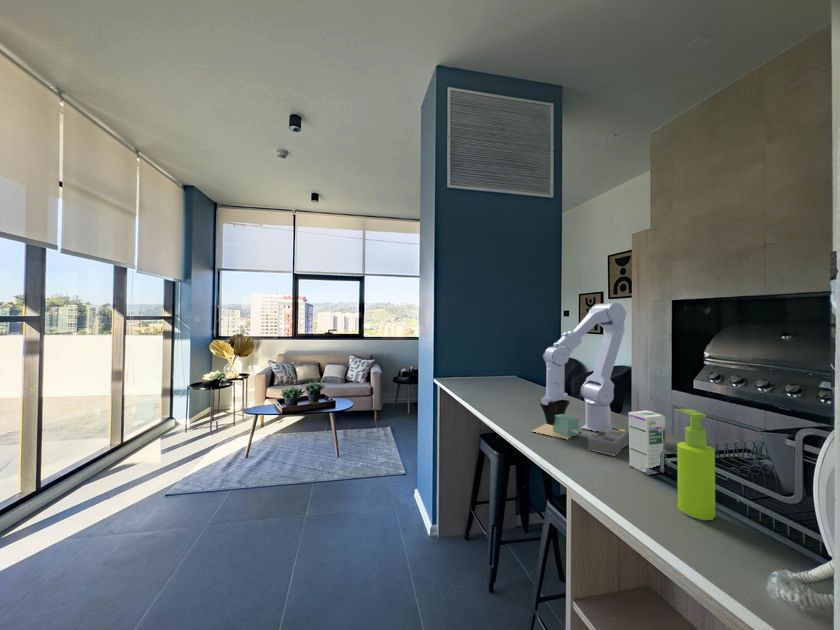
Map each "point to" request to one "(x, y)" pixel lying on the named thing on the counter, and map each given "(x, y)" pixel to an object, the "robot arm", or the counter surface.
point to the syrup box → (646, 439)
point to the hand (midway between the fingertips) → (554, 422)
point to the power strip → (608, 440)
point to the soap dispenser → (696, 470)
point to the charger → (566, 425)
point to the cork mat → (548, 431)
